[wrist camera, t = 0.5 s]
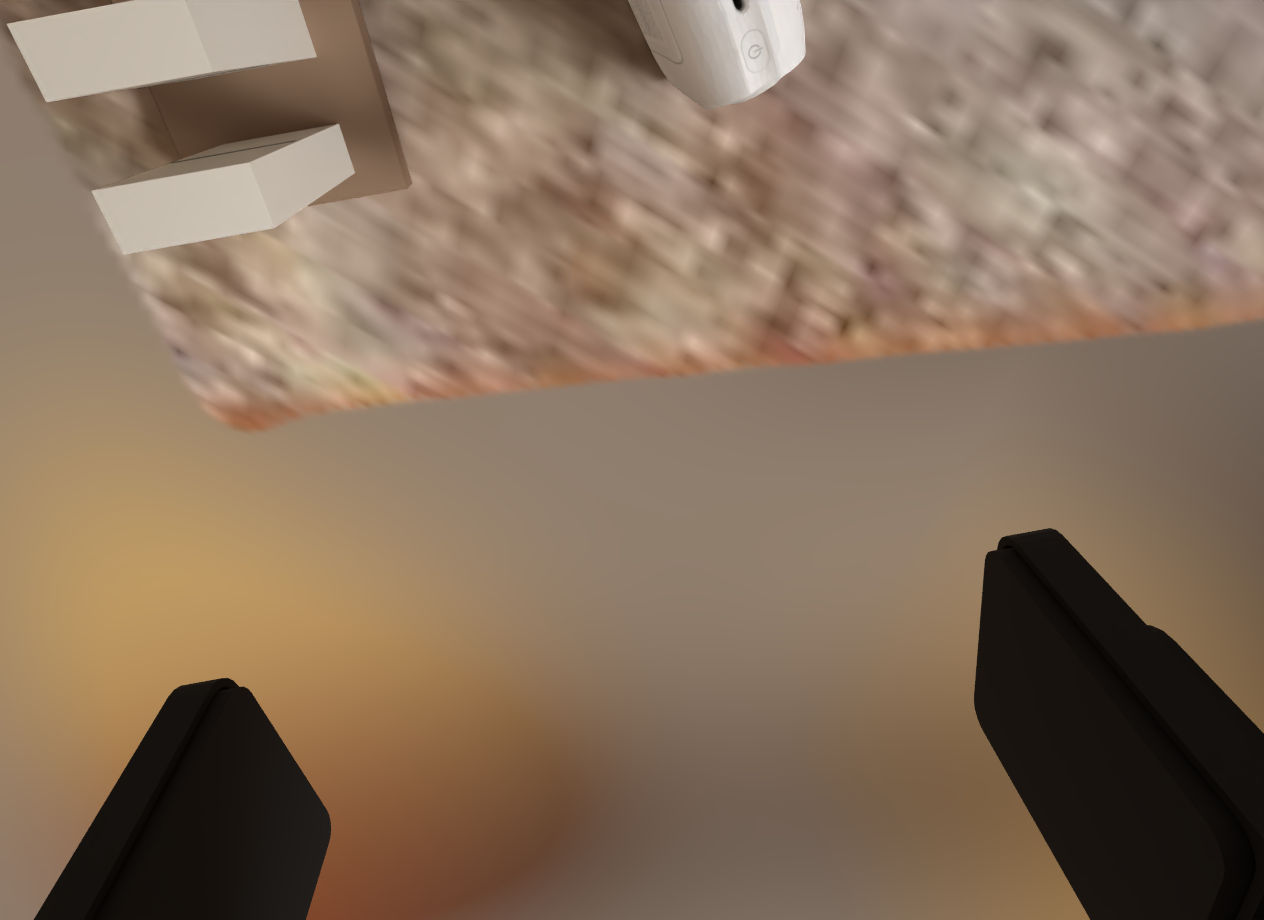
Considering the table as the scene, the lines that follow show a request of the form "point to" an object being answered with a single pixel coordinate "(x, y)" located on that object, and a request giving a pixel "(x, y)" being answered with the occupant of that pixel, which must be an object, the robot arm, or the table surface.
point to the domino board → (299, 102)
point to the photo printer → (722, 45)
